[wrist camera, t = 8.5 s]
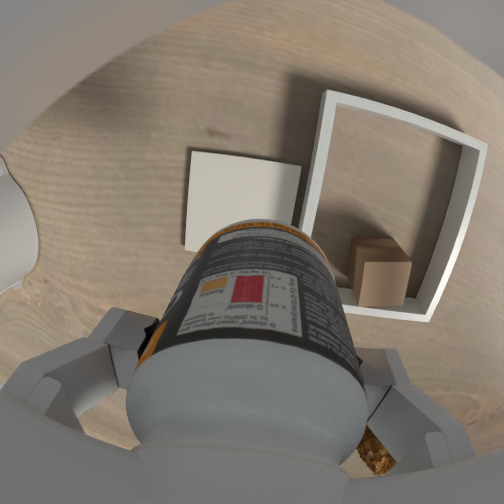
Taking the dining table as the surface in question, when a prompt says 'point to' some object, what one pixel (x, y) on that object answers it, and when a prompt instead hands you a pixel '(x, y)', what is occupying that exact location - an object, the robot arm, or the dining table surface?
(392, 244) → the walnut block
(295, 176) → the coaster
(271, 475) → the pill bottle
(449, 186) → the dining table surface
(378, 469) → the stuffed squirrel
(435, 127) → the tray frame
